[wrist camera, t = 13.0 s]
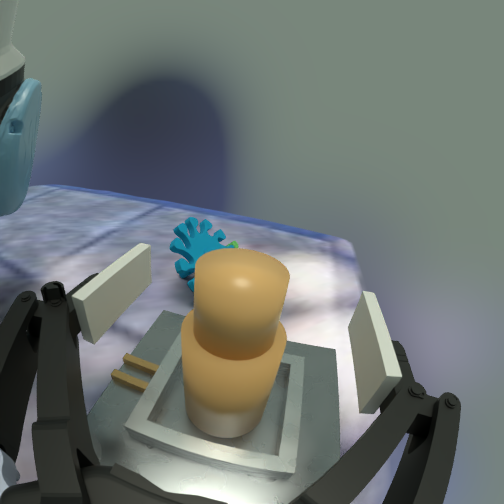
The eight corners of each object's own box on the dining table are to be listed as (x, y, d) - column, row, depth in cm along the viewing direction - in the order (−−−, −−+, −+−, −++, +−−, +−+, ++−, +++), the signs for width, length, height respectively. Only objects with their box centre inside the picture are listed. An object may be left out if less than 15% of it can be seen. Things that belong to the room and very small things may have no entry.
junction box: (73, 457, 10) (55, 438, 9) (164, 322, 25) (163, 296, 23) (326, 529, 9) (348, 522, 7) (330, 360, 23) (340, 337, 22)
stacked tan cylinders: (174, 424, 14) (158, 285, 9) (199, 368, 19) (204, 235, 14) (256, 445, 13) (302, 318, 9) (268, 385, 18) (304, 255, 14)
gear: (207, 310, 25) (163, 217, 26) (172, 326, 28) (134, 244, 29) (260, 280, 34) (225, 211, 35) (227, 296, 37) (196, 232, 38)
